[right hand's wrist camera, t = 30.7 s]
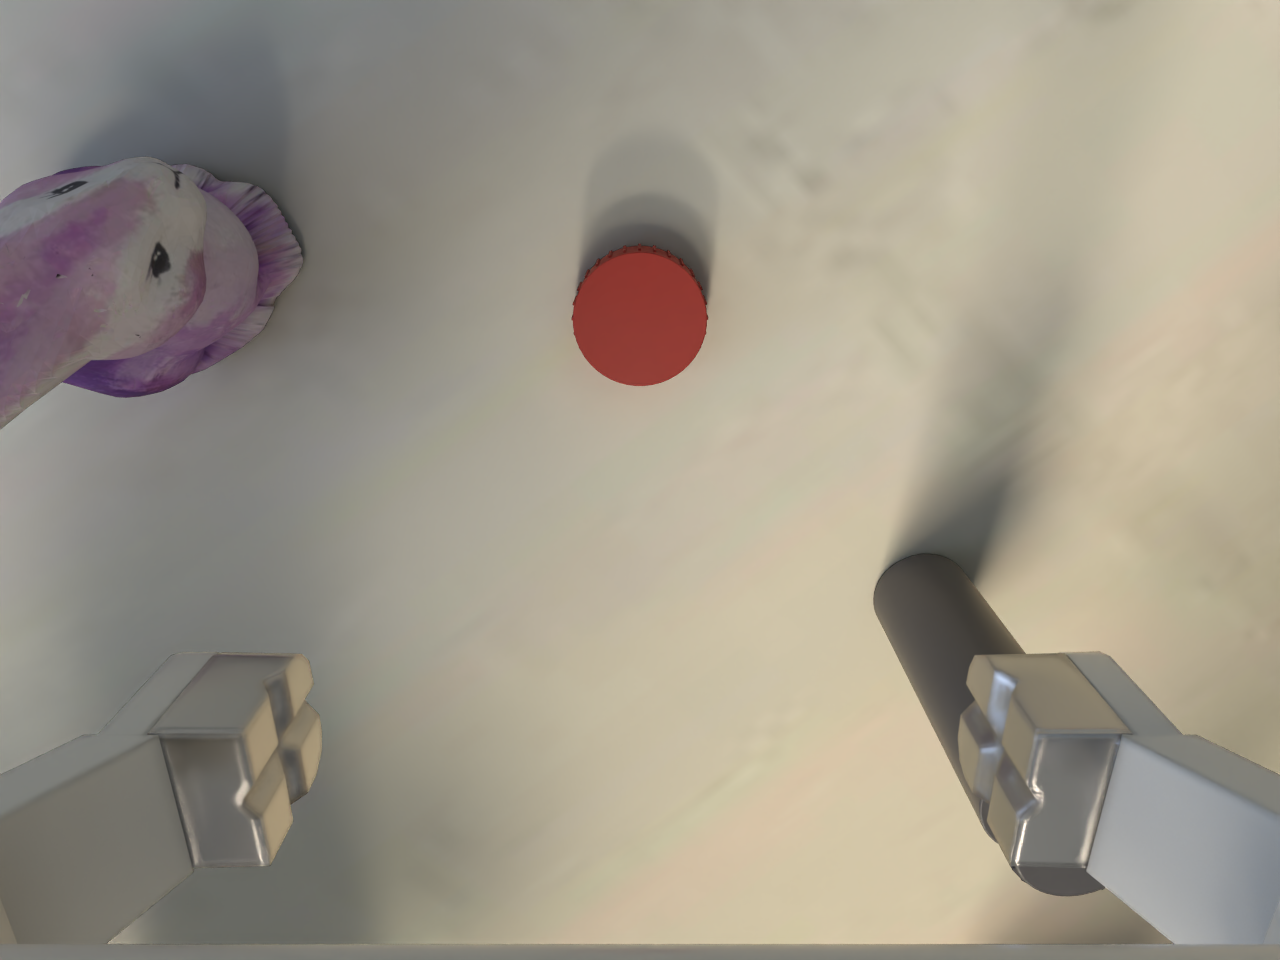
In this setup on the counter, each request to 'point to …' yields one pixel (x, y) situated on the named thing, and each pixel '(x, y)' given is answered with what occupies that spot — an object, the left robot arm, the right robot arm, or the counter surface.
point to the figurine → (133, 277)
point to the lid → (639, 315)
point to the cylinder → (953, 669)
